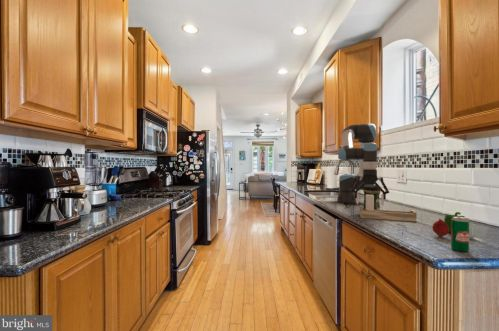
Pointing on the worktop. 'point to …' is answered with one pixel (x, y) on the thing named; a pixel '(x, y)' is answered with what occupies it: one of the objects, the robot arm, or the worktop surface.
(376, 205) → the coffee jar
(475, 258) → the worktop surface
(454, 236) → the soda can
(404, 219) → the track
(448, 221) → the bell pepper
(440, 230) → the onion
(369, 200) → the slider
